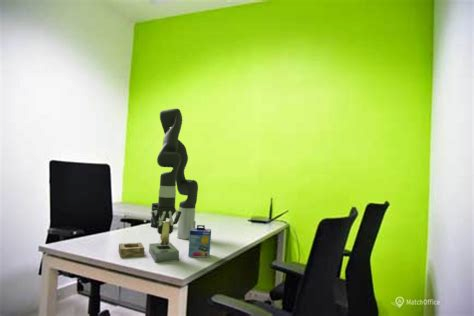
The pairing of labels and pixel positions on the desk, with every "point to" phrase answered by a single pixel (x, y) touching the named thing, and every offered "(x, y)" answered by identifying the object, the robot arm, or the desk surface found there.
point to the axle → (165, 233)
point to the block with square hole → (163, 252)
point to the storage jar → (154, 208)
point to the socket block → (131, 249)
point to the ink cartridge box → (199, 242)
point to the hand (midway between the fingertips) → (164, 233)
